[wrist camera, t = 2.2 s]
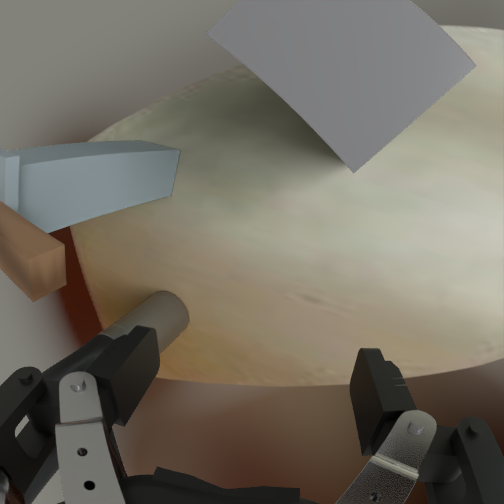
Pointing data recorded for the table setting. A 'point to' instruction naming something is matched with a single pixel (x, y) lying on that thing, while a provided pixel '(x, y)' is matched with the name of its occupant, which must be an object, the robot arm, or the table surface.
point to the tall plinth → (84, 179)
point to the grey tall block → (346, 64)
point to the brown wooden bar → (30, 255)
